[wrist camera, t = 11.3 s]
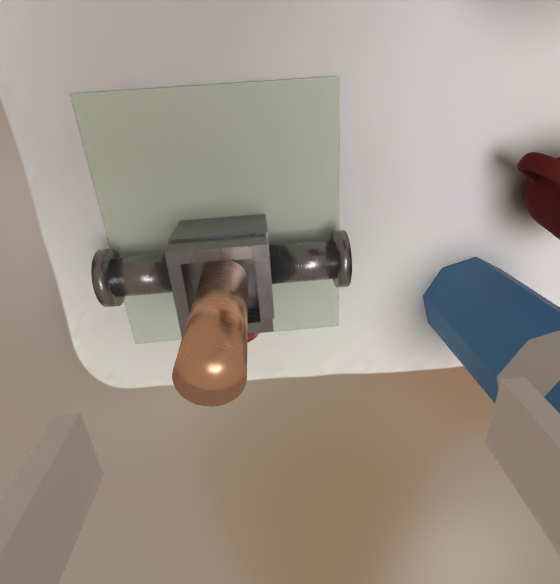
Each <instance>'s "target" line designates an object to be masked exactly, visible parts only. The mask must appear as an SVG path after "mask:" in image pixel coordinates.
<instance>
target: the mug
mask: <svg viewBox="0 0 560 584" xmlns="http://www.w3.org/2000/svg"><path fill="white" fill-rule="evenodd" d="M518 170H519V171H520V172H521V173H522V174H524V175H525V176H527V177H528V179H527V180H526V182H525V185H524V188H523V197H524V200H525V203H526V207H527V209H528V211H529V213H530V215H531V216H532V217H533V219H534V220H535V221H536V222H538V223H539V224H540V225H541V226H543V227H544V228H545V229H547V230H548V231H549V232H551V233H552V234H553V235H555V236H556V237H557V238H559V239H560V157H559V158H557V159H555V158H553V157H550V156H548V155H544V154H541V153H536V152H531V153H527V154H526V155H525V156H524V157H523V158H522V159H521V160H520V162H519V164H518Z"/></svg>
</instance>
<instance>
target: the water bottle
mask: <svg viewBox="0 0 560 584" xmlns="http://www.w3.org/2000/svg"><path fill="white" fill-rule="evenodd" d="M423 298H424V303H425V308H426V313H427V318H428V323H429V324H430V325H431V326H432V328H433V329H434V330H435V331H436V332H437V334H438V335H439V336H440V337H441V339H442V340H443V341H444V342H445V343H446V345H447V346H448V347H449V348H450V349H451V351H452V352H453V353H454V354H455V356H456V357H457V358H458V359H459V360H460V362H461V363H462V364H463V365H464V366H465V368H466V369H467V370H468V371H469V373H470V374H471V375H472V376H473V377H474V379H475V380H476V381H477V382H478V383H479V385H480V386H481V387H482V388H483V389H484V391H485V392H486V393H487V394H488V396H489V397H490V398H491V399H492V400H493V402H494V403H495V402H496V398H497V394H498V390H499V386H500V382H501V379H512V378H526V379H527V380H528V381H529V382H530V383H531V384H532V385H533V386H534V387H535V388H536V389H537V390H538V392H539V393H540V394H541V395H542V396H543V397H544V398H545V399H546V400H547V401H548V402H549V403H550V404H551V405H552V406H553V407H554V408H555V409H556V410H557V412H558V413H559V414H560V307H558V306H557V305H555V304H553V303H552V302H550V301H549V300H547V299H546V298H544V297H543V296H541V295H540V294H538V293H537V292H535V291H533V290H532V289H530V288H529V287H527V286H526V285H524V284H523V283H521V282H520V281H518V280H516V279H515V278H513V277H512V276H510V275H509V274H507V273H506V272H504V271H503V270H501V269H499V268H497V267H495V266H493V265H491V264H489V263H487V262H485V261H483V260H481V259H479V258H477V257H474V258H471V259H468V260H465V261H462V262H459V263H456V264H453V265H450V266H447V267H444V268H442V270H441V271H440V272H439V274H438V275H437V277H436V278H435V280H434V281H433V283H432V284H431V285H430V287H429V288H428V290H427V291H426V293H425V294H424V295H423Z"/></svg>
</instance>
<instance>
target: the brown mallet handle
mask: <svg viewBox="0 0 560 584" xmlns="http://www.w3.org/2000/svg"><path fill="white" fill-rule="evenodd" d="M247 324H248V277H247V274H246V272H245V270H244V268H243V267H242V266H241V265H240V264H238V263H237V262H235V261H232V260H226V261H214V262H211V263H209V264H208V265H207V266H206V267H205V268H204V269H203V271H202V274H201V277H200V280H199V284H198V287H197V290H196V294H195V297H194V300H193V304H192V307H191V311H190V314H189V317H188V321H187V324H186V328H185V331H184V334H183V338H182V341H181V344H180V348H179V351H178V355H177V358H176V361H175V365H174V368H173V373H172V379H173V383H174V386H175V388H176V390H177V391H178V392H179V393H180V394H181V396H183V397H184V398H185V399H187V400H188V401H190V402H192V403H195V404H198V405H202V406H219V405H223V404H226V403H228V402H230V401H232V400H234V399H235V398H236V397H238V396H239V394H241V392H242V391H243V389H244V387H245V385H246V380H247Z"/></svg>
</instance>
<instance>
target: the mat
mask: <svg viewBox="0 0 560 584" xmlns="http://www.w3.org/2000/svg"><path fill="white" fill-rule="evenodd" d="M70 97H71V101H72V105H73V108H74V112H75V116H76V120H77V123H78V127H79V131H80V135H81V139H82V142H83V146H84V150H85V154H86V158H87V161H88V165H89V169H90V173H91V177H92V180H93V184H94V188H95V192H96V196H97V199H98V203H99V207H100V211H101V215H102V218H103V222H104V226H105V230H106V234H107V237H108V241H109V245H110V249H115V250H116V251H117V252H118V253H119V255H120V257H127V256H139V255H152V254H164V253H165V251H166V250H167V248H168V246H169V243H168V239H169V237H170V236H171V234H172V233H173V231H174V229H175V228H176V226H177V225H178V223H179V221H180V220H191V219H204V218H217V217H230V216H243V215H255V214H265V215H266V222H267V230H268V240H269V245H276V244H288V243H301V242H313V241H326V240H330V235H331V232H332V231H339V76H333V77H318V78H302V79H287V80H272V81H257V82H241V83H226V84H211V85H196V86H180V87H165V88H150V89H135V90H119V91H104V92H89V93H74V94H70ZM272 292H273V305H274V318H275V319H273V330H274V331H273V332H275V331H287V330H298V329H309V328H321V327H332V326H338V287H335V285H334V282H333V279H328V280H316V281H304V282H292V283H281V284H272ZM124 302H125V306H126V310H127V313H128V317H129V321H130V325H131V329H132V332H133V336H134V340H135V344H140V343H151V342H162V341H174V340H182V337H181V332H180V327H179V322H178V317H177V312H176V307H175V302H174V297H173V293H162V294H150V295H138V296H126V297H125V299H124ZM262 333H264V332H262Z"/></svg>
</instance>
